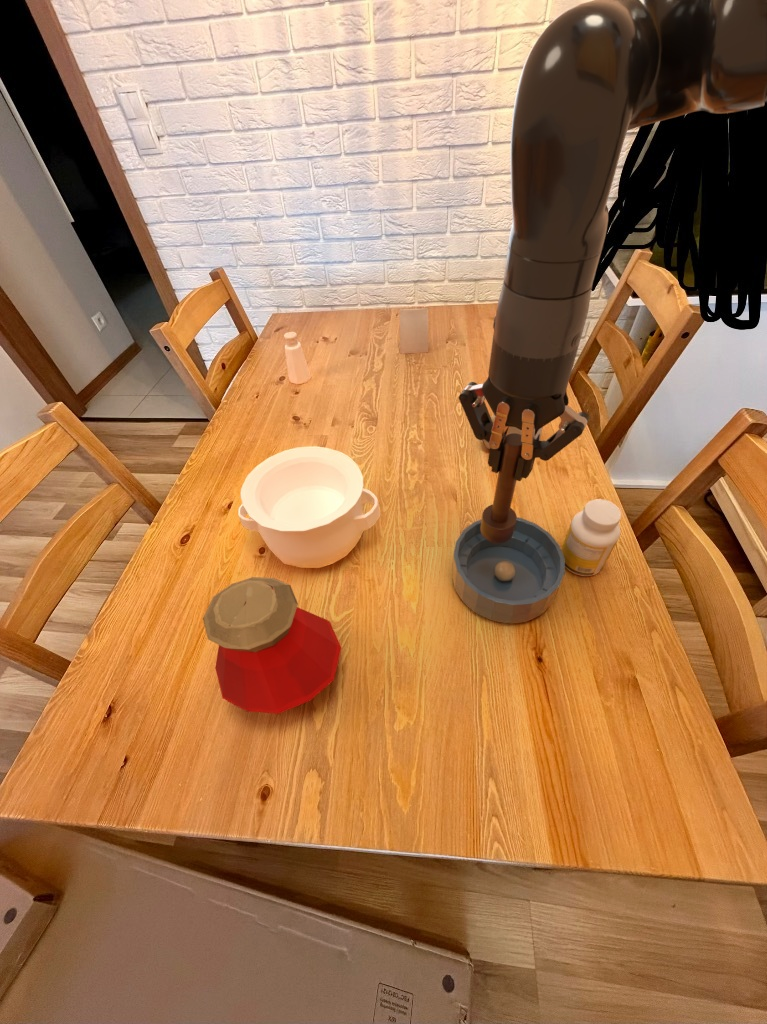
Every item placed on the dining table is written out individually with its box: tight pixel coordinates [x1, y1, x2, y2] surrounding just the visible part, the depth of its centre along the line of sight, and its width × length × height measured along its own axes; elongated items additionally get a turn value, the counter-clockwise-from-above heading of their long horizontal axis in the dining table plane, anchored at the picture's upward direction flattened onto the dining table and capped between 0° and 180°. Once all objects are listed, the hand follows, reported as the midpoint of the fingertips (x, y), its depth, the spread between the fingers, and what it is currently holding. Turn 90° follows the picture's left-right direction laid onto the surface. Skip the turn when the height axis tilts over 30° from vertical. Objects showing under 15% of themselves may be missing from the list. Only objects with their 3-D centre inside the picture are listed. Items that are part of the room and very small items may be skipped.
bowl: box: [451, 516, 566, 624], centre depth 67 cm, size 15×15×6 cm
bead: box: [495, 561, 516, 581], centre depth 68 cm, size 3×3×3 cm
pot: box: [237, 445, 381, 569], centre depth 72 cm, size 22×17×12 cm
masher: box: [480, 433, 522, 543], centre depth 56 cm, size 4×4×16 cm
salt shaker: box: [283, 331, 312, 385], centre depth 104 cm, size 5×5×11 cm
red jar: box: [202, 576, 342, 715], centre depth 54 cm, size 16×14×20 cm
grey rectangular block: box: [398, 307, 430, 355], centre depth 110 cm, size 4×7×10 cm, turn 89°
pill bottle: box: [560, 498, 622, 577], centre depth 66 cm, size 6×6×12 cm
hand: (508, 471), depth 54 cm, fingers closed on masher, 2 cm apart
